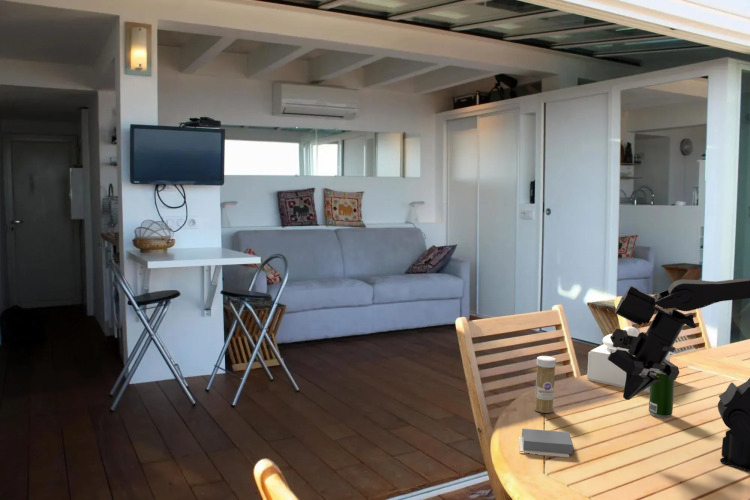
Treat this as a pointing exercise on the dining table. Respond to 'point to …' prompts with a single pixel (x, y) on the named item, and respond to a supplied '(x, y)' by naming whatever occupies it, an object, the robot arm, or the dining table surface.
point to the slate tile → (547, 441)
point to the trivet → (539, 451)
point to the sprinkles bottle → (545, 384)
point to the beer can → (661, 396)
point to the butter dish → (609, 363)
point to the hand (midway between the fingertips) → (625, 398)
